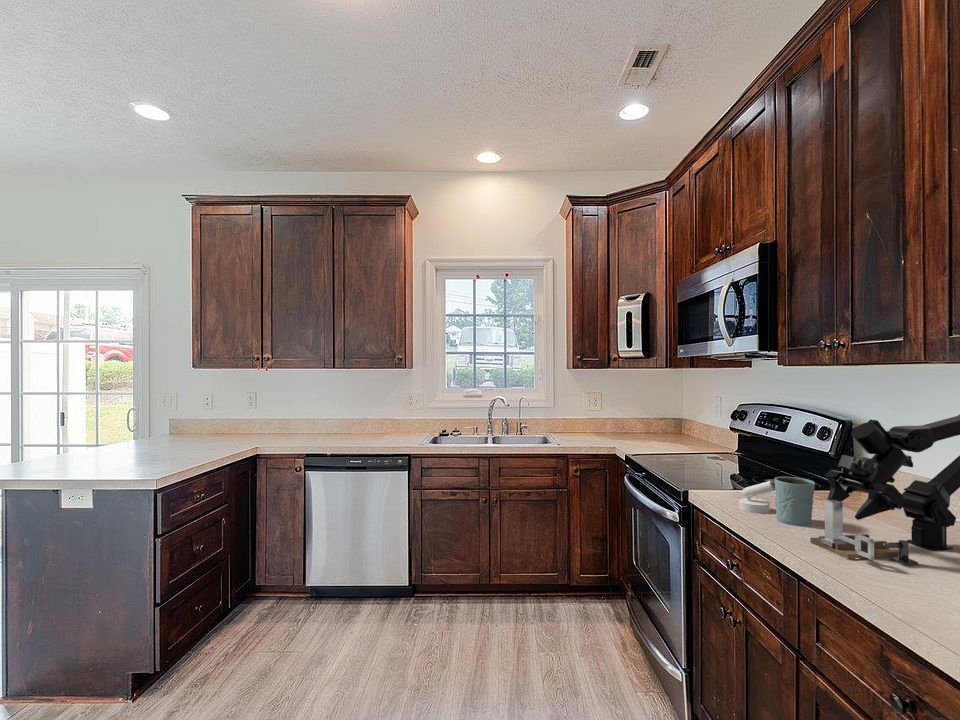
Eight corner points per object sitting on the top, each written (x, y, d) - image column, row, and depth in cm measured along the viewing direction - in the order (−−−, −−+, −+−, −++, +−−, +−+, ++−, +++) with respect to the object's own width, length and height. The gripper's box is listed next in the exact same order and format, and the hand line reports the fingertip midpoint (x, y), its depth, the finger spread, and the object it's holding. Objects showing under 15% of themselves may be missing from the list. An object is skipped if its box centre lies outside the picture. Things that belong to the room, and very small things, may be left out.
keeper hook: (903, 559, 124) (903, 538, 124) (918, 564, 121) (917, 543, 121) (876, 560, 124) (876, 539, 124) (890, 566, 120) (889, 544, 120)
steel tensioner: (835, 541, 132) (835, 499, 132) (880, 560, 119) (880, 513, 119) (820, 542, 132) (820, 499, 132) (864, 561, 119) (864, 514, 119)
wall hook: (771, 483, 160) (735, 479, 166) (771, 515, 160) (735, 510, 166) (777, 479, 167) (742, 474, 173) (777, 509, 167) (742, 504, 173)
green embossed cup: (776, 514, 161) (776, 475, 161) (816, 520, 155) (816, 479, 155) (772, 523, 153) (772, 481, 153) (814, 529, 147) (813, 485, 147)
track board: (856, 540, 137) (856, 530, 137) (898, 557, 125) (898, 546, 125) (810, 542, 136) (810, 532, 136) (847, 559, 124) (847, 548, 124)
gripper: (831, 439, 140) (792, 481, 139) (894, 450, 122) (850, 499, 121) (859, 468, 141) (820, 511, 140) (925, 484, 123) (881, 533, 121)
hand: (841, 512), depth 130 cm, fingers open, 9 cm apart
